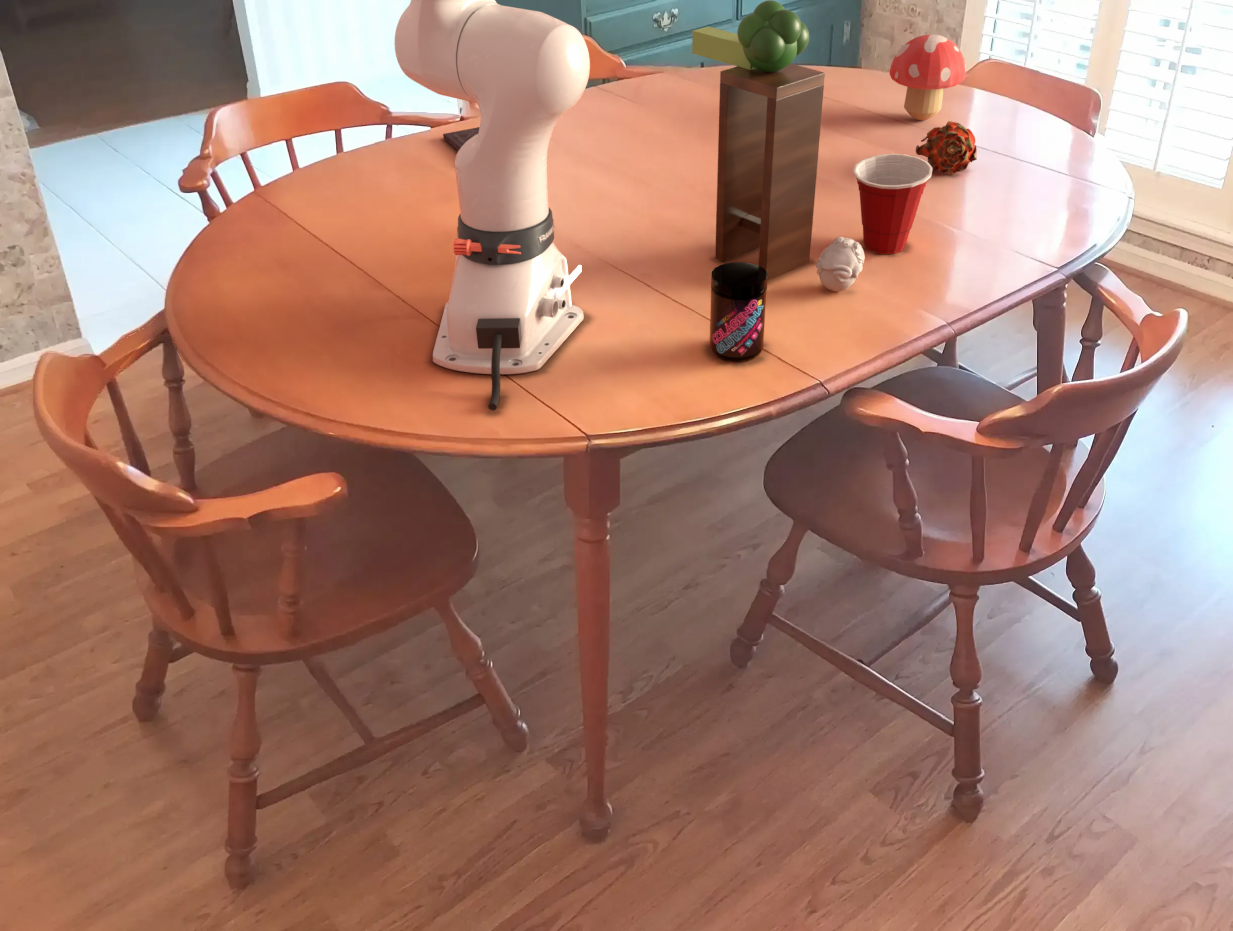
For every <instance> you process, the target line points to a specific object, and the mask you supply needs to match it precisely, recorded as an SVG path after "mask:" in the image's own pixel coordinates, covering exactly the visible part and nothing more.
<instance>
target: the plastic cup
mask: <svg viewBox="0 0 1233 931" xmlns="http://www.w3.org/2000/svg"><path fill="white" fill-rule="evenodd" d="M927 161H928V160H925V159H923V158H921V157H919V156H915V155H909V154H904V153H884V154H877V155H871V156H870V157H866V158H863V159H861V160H860V161H858V162H857V163H856V164H855V165H854V167H853V171H852V173H853V175H854V177H855V179H856V183H857V185H858V191H859V204H860V215H861V216H860V217H861V225H862V238H863V243H864V245H863V246H864V247H865V249H866V250H868V251H870V252H871V253H875V254H880V255H893V254H894V255H895V254H897V253H900V252H902V251H903V250H905V247H906V245H907V243H908V239H909V235H910V231H911V229H912V227H913V226H914V225H913V224H914V221H915V219H916V215H917V212H918V209H919V205H920V202H921V198H922V195H923V194H924V190H925V188H926V187H927V186H926V185H927V183H928V181H929V179H930V178H931V177H932V175H933V170H932V169H933V168H932V166H931V165H930V164H929V163H928V162H927Z"/></svg>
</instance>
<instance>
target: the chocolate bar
mask: <svg viewBox="0 0 1233 931" xmlns="http://www.w3.org/2000/svg"><path fill="white" fill-rule="evenodd" d="M479 128H480V126H478V127H473V128H467V129H461V130H457V131H450V132H446V133H443V140H444V141H445V142H446V143H448V144H449V145H450V146H451V147H452V148H453V149H455V150H456V151H457V152H458V151H459V150H460V148H461V147H462V146H463V145H464V144H465V143H466V142H467V141H468V140H469V139H470V138H472V137H473V136H475V135H477V134H478V133H479Z"/></svg>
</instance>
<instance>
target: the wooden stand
mask: <svg viewBox="0 0 1233 931" xmlns="http://www.w3.org/2000/svg"><path fill="white" fill-rule="evenodd" d="M719 74H720V75H719V102H718V103H719V106H718V139H717V140H718V142H717V143H718V144H717V178H716V179H717V182H716V212H715V213H716V214H715V251H714V259H715V260H717V261H719V262H721V263H723V262H726V261H729V260H731V259H733V258H735V257H738V256H741V255H743V254H745V253H749V252H750V251H752V250H754V249H755V250H756V249H758V248H759V251H758V266H761V267H762V268H764V269H765V270H766V271H767V274H768V277H767V282H769V281H770V280H773V279H775V278H777V277H780V276H782V275H784V274H786V273H788V272H791V271H793V270H795V269H797V268H800V267H802V266H804V265H806V264H809V263H810V259H811V258H810V257H811V248H812V233H813V225H814V224H813V223H814V210H815V199H816V187H817V186H816V185H817V177H818V176H817V175H818V162H819V151H820V150H819V148H820V139H821V126H822V114H823V104H824V103H823V102H824V88H825V77H826V72H823V71H820V70H816V69H813V68H809V67H806V66H802V65H799V64H794V63H792V62H791V63H790V64H789V65H788V66H787V67H785V68H783V69H782V70H779V71H776V72H764V71H761V70H758V69H756V68H755V69H752V70H748V69H745V68H741V67H738V66H734V67H730V68H727V69H724V70H720V73H719Z"/></svg>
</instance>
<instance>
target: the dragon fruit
mask: <svg viewBox="0 0 1233 931" xmlns="http://www.w3.org/2000/svg"><path fill="white" fill-rule="evenodd" d="M925 141H926V142H925ZM920 142H921V143H922V142H925V143H923V144H921V145H918V144H917V145H916V146H915V154H916V156H917V155H918V156H923V157H925V158H927V160H926V161H927V162H928V163H929V164H930V165H931V166H932V168H933V169H932V171H939V172H941V173H942V174H946V175H950V176H953V175H955V174H956V173H959V172H960V173H961V172H963V171H965V170H967V168H968V166H969V164H970V163H972V162H974V161H976V160H977V159H978V158H977V156H978V155H977V153H978V152H977V151H978V150H977V146H976V136H975V135H974V133H973V132H972V130H971V129H970V128H966V127H965V125H962V124H961V123H959V122H957V121H952V120H951V121H949V120H948V121H947V123H946V124H945V125H943V126H942V127H940V126H937V127H933V128H932V129H931V130H929V131H928V132H926V136H924V137H923V138H922V139H920Z"/></svg>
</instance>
